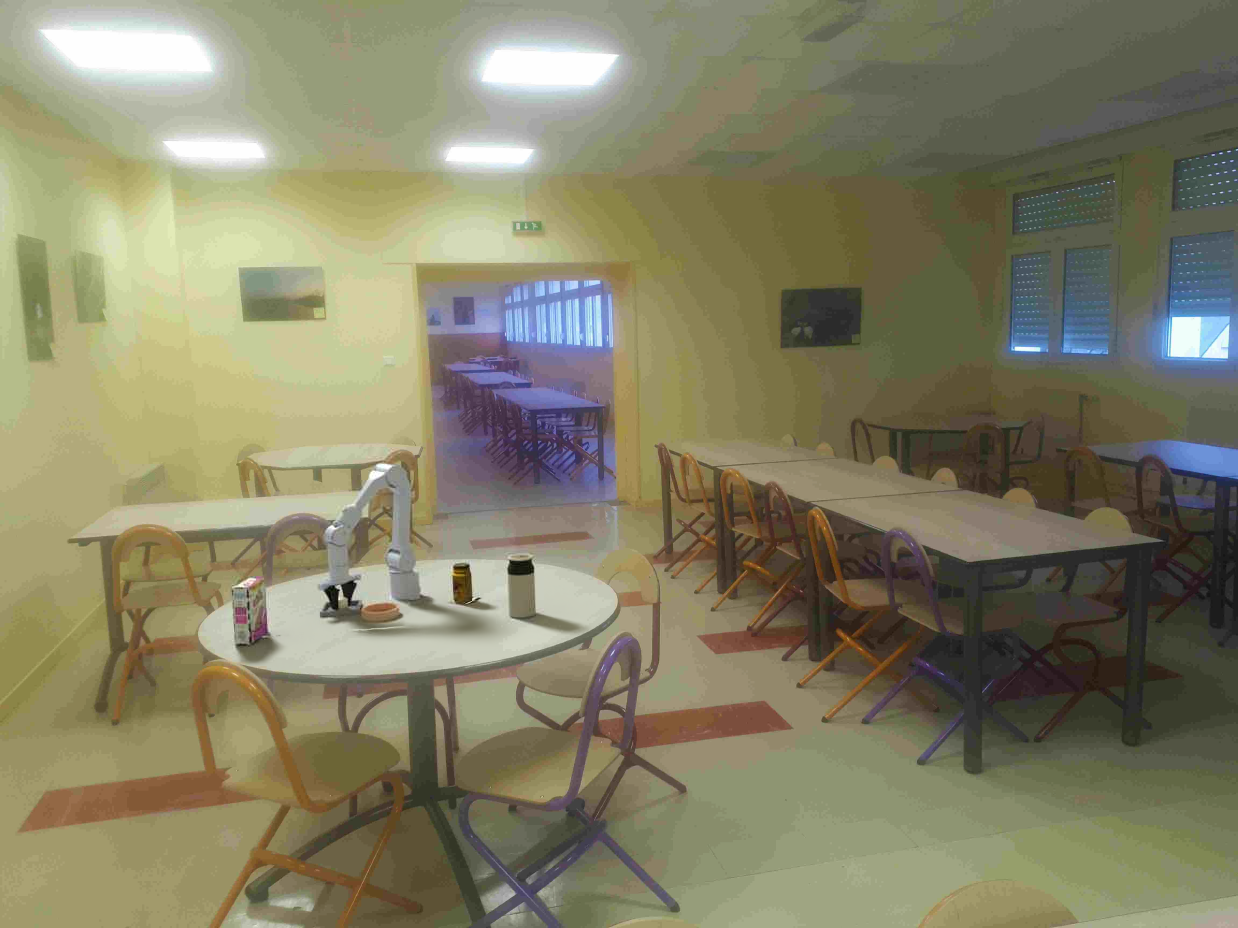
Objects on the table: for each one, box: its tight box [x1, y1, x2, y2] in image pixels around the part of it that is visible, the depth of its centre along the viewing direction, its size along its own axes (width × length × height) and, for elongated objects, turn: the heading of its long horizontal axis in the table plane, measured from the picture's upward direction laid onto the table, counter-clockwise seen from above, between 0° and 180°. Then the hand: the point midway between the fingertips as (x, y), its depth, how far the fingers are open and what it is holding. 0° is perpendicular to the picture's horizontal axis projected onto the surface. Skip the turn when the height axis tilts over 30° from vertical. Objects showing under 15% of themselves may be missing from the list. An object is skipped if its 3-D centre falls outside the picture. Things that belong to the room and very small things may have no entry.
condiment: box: [448, 562, 474, 604], centre depth 283 cm, size 7×8×12 cm
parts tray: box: [319, 599, 363, 618], centre depth 274 cm, size 11×11×2 cm
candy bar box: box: [231, 577, 269, 646], centre depth 249 cm, size 11×5×16 cm, turn 178°
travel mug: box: [507, 553, 537, 619], centre depth 266 cm, size 8×8×18 cm
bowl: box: [360, 602, 401, 622], centre depth 268 cm, size 11×11×3 cm
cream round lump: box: [335, 596, 348, 611], centre depth 274 cm, size 4×4×4 cm
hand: (341, 607), depth 274 cm, fingers closed on cream round lump, 4 cm apart
